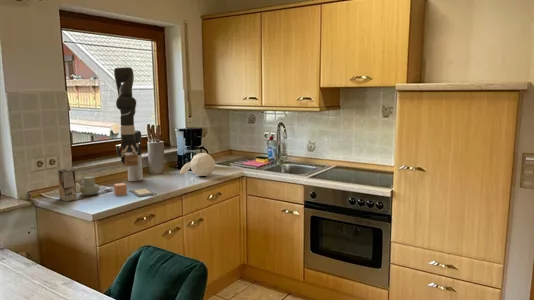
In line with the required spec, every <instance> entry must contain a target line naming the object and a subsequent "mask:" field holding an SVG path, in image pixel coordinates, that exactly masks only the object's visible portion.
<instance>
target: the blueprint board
mask: <svg viewBox="0 0 534 300" xmlns="http://www.w3.org/2000/svg"><path fill="white" fill-rule="evenodd" d="M129 192H130V193H132V194H134V195H135V196H136V197H138V198H143V197H149V195H151V196H154V195H153V194H156V195H157V192H154V191H153V190H152V189H149V188H148V187H139V188H133V189H129Z"/></svg>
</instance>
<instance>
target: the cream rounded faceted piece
mask: <svg viewBox="0 0 534 300" xmlns="http://www.w3.org/2000/svg"><path fill="white" fill-rule="evenodd" d="M215 163H216V162H215V160H214V158H213V157H212V156H211V155H210V154H208V153H207V152H200V153H197V154H195V155H193V157H192V159H191V160H190V162H187V163H185V164H184V165H183V166H182V167H181V169H180V171H179V176H183V175H185V174H187V172H189V171H190V169H191V171H192V172H193V174H195V176H197V177H199V176H206V177H208V176H210V175H212V173H214V170H215V169H216V165H215Z"/></svg>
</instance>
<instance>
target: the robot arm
mask: <svg viewBox="0 0 534 300" xmlns="http://www.w3.org/2000/svg"><path fill="white" fill-rule="evenodd" d="M113 75H114V80H115V81H114V82H115V85H116V89H117V94H118V95H117V96H118V97H117V98H116V101H115V102H116V103H115V106H116V108H117V109H118V110H119V111H120V112H119V113H120V144H116V145H115V149H116V155H117V156H118V157H120V163H121V162H122V163H125V161H124V154H125V153H130V152H132V153H134V154H137V157H138V165H136V166H128V167H127V181H129V182H140V181H143V178H144V177H143V160H142V157H143V156H142V153H143V152H142V132H141V131H140V130H136V129H135V114H136V107H137V100H136V99H135V97H134V96H133V85H134V80H135V78H134V77H135V76H134V69H133V68H132V67H130V66H129V67H128V66H127V67H126V66H125V67H123V66H121V67H115V68H114V70H113ZM121 148H122V149H121ZM120 150H121V151H120Z"/></svg>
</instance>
